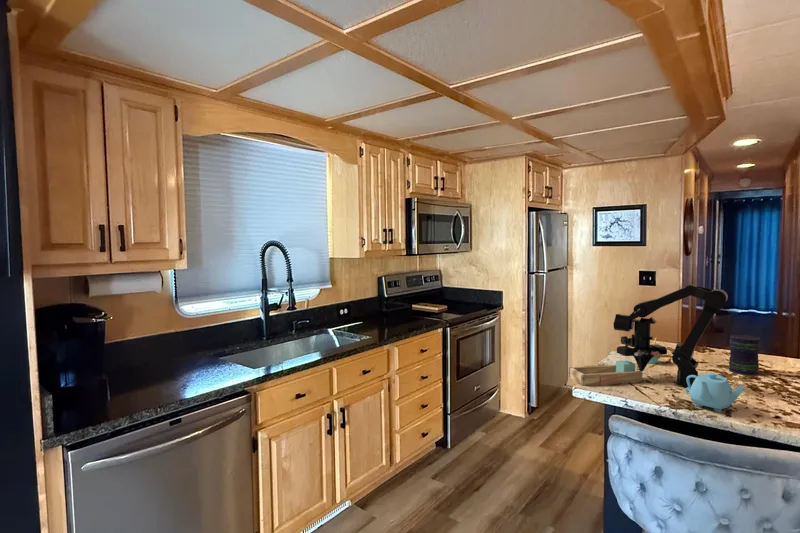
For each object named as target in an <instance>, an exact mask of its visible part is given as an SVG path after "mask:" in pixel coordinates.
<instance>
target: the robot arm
mask: <svg viewBox="0 0 800 533" xmlns="http://www.w3.org/2000/svg"><path fill="white" fill-rule="evenodd" d="M690 296H691V297H695V298H697V299H700V300H701V301H705V302H704V304H703V309H702V311H701V314H700V315H699V317H698V318H697V320H696V322H695V324H694V325H693V327H692V329H691V330H690V332H689V334H688V335H687V337H686V339H685V341H684V342H683V343H681V342H678V343H677V344H676V345H675V347H674V349H673V351H672V352H671V353H670V354H671V355H672V356H671V360H672V362H673V364H675V366H677V372H676V381H673V383H674V384H675V385H678V386H680V387H683V388H685V389H686V388H687V387H688V384H687V381H686V379H687V377H688V376H690V375H696V376H699V371H697V368H698V366H699V363H698V361H697V360H696V359H695V358H693V356H694V353H695V349H696V346H697V344H698V343H699V340H700V339H701V338H702V335H703V334H704V332H705V331H706V329H707V327H708V325H709V323H710V322H711V321H712V319H713V317H714V316H715V314H716V313H717V312H718V311H719V310H720V309H721V308H722V307H723V306H724V304H725V303H726V302H727V301H728V297H729V296H728V293H727V292H726V291H725V290H724V289H720V288H715V289H711V288H707V287H703V286H699V285H696V284H691V283H690V284H687V285H686V286H685V287H682V288H680V289H676V290H675V291H673V292H670V293H667V294H665V295H663V296H661V297H658V298H654V299H650V300H644V301H641V302H639V303H637V304H636V305H634V307H633V311H632V312H631V313H630V314H629V315H627V314H621V313H616V314H615V317H614V322H613V330H614V331H620V332H627V333H628V332H631V330H634V333H633V334H631V337H628V336H627V335H626V336H620V344H621V345H619V346H617V347H616V353H617V354H619V355H621V356H624V357H633V358H634V360H635V362H636V365H637V367H638V371H641V372H643V371H644V370H645V368H646V367H647V365H648V364H649V363H648V362H649V361H650V360H651V358H652V357H654V355H652V352H659V354H662V355H667V354H668V348H667V347H666V346H664V345H661V344H655V345H654V344H651V340H653V336H651V330H652V329H651V326H652V324H653V325H654V324H656V323H657V320H655V319H654V318H653V316H651V317H649V318H646V317H648V316H649V315H651V314H653V313H654V312H656V311H657V310H659V309H660V308H663V307H665V306H668V305H671V304H673V303H675V302H678V301H680V300H684V299H685V298H688V297H690ZM638 318H640V319H638ZM695 379H696V378H694V377H691V378H690V379H689V381H690V384H691V386H692V384H693V382H694V380H695Z"/></svg>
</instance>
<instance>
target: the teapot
mask: <svg viewBox="0 0 800 533" xmlns="http://www.w3.org/2000/svg"><path fill="white" fill-rule="evenodd" d="M691 377H694V378H696V379H695V380H694V382H693V384H692V386H691V384H690V381H689V379H690V378H691ZM686 381H687V384H688V387H687V388H685V389H684V391H685V393H687V394H689V397H690V400H691V401H692V402H693V403H694V406H695V407H697V408H703V407H709V408H713V411H714V412H717V413H723V409H727V408H729V407H731V406H732V404H733V402H736V401H737V399H738V397H740V395H741V393H742V392H743V391H744V390H745V388H746V386H744V385H742V384H741V385H738V387H737V388H735V390H733V389H732V386H731V385H730V383H729V381H728V379H727V378H726V377H724V376H723V375H720V374H719V375H718V373H717V374H716V373H714V372H708V373H703V374H698V376H696V375H690V376H688V377H687V379H686Z"/></svg>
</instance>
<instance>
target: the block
mask: <svg viewBox="0 0 800 533" xmlns="http://www.w3.org/2000/svg"><path fill="white" fill-rule="evenodd" d="M615 365H616V372H631V371H636V363H634V362H632V361H629V360H615Z"/></svg>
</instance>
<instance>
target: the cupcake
mask: <svg viewBox="0 0 800 533" xmlns="http://www.w3.org/2000/svg"><path fill="white" fill-rule="evenodd" d="M657 338H658V337H655V338H654V341H653V345H655V344H656V342H657ZM652 355H654V357H652V358H651V360H650V361H649V362H648V364H652V365H654V364H658V361H659V359H660V358H661V357H662V356H663V354H659V352H652Z"/></svg>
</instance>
